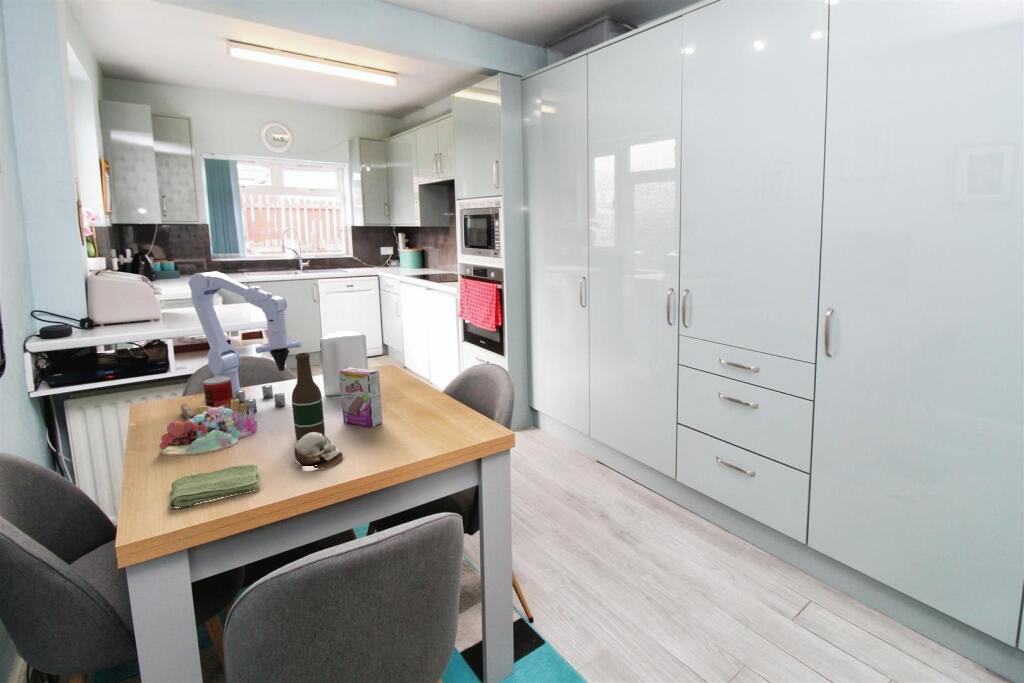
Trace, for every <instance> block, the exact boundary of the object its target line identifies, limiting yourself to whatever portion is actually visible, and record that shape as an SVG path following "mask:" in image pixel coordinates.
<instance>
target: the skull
mask: <svg viewBox="0 0 1024 683" xmlns="http://www.w3.org/2000/svg"><path fill="white" fill-rule="evenodd" d="M343 456H344V455H343V453H342V452H341V451H340V449H339V448H337V447H336V444H335V443H334V442H332V441H331V440H330V439H329V438H328V436H323V435H322V434H321V433H316V432H311V433H308V434H306V435H304V436H303V437H302V438H301V439H300V440H299V441H298V440H297V441H296V444H295V445H294V457H295V460H297V461H298V462H299V463H300V464H301V465H302V466H314V468H318V469H321V468H322V469H321V470H324V469H323V468H325V469H326V468H327V469H328V468H329V467H332V466H334V465H336V464H337V463H339V462H340V461H341V460H342V459H343ZM300 464H299V465H300ZM301 465H300V466H301ZM315 465H317V466H315Z"/></svg>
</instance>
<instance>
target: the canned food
mask: <svg viewBox="0 0 1024 683" xmlns="http://www.w3.org/2000/svg"><path fill="white" fill-rule="evenodd" d="M202 382H203V383H202V384H203V392H204V397H205V399H206V406H210V407H214V406H216V405H225V408H228V409H230V407H231V400H232V399H234V398H233V392H232V384H231V378H230V377H225V376H224V377H215V376H214V377H210V378H207V379H205V380H203V381H202ZM205 399H204V400H205Z"/></svg>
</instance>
